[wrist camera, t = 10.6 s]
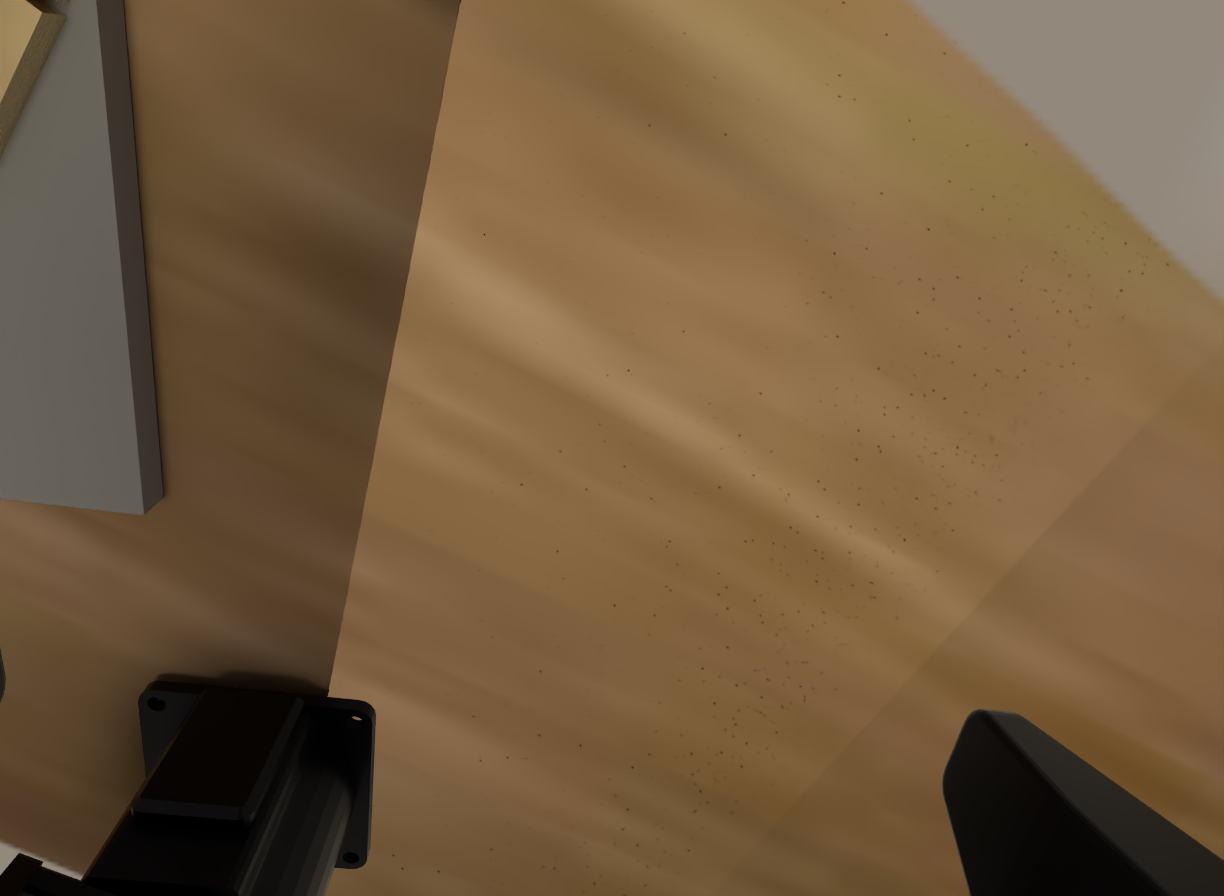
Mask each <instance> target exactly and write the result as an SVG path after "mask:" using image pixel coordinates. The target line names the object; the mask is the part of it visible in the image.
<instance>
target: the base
mask: <svg viewBox="0 0 1224 896" xmlns="http://www.w3.org/2000/svg"><path fill="white" fill-rule="evenodd" d="M47 1H48V2H49V3H51V4H52V5H53V6H55V7H56V8H57V9H59V10H60V11H62V12H63V13H64V14H66V15H67V16H68V17H67V19H66V21H65V23H64V25H63V27H62V29H61V31H60V34H59V36H58V38H57V40H56V42H55V44H54V46H53V48H52V50H51V52H50V55H49V57H48V59H47V61H46V63H45V65H44V67H43V69H42V71H41V74H40V76H39V78H38V80H37V82H36V84H35V86H34V88H33V90H32V92H31V95H30V97H29V99H28V101H27V103H26V105H25V107H24V109H23V111H22V113H21V116H20V118H19V120H18V122H17V124H16V126H15V128H14V130H13V132H12V134H11V137H10V139H9V141H8V143H7V145H6V147H5V149H4V151H3V153H2V156H1V158H0V499H6V500H15V501H23V502H32V503H41V504H50V505H58V506H67V507H76V508H84V509H93V510H102V511H110V512H119V513H128V514H136V515H145V514H146V513H147V512H148V511H149V510H150V509H151V508H152V507H153V506H154V505H155V504H156V503H158V502H159V501H160V500H161V499H162V498H163V485H162V473H161V461H160V448H159V436H158V424H157V411H156V399H155V387H154V374H153V362H152V350H151V338H150V325H149V313H148V301H147V288H146V276H145V264H144V251H143V239H142V227H141V215H140V202H139V190H138V178H137V165H136V153H135V141H134V128H133V116H132V104H131V92H130V79H129V67H128V55H127V42H126V30H125V18H124V5H123V0H69V1H70V3H66V2H60V1H54V0H47Z"/></svg>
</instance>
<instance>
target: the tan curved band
mask: <svg viewBox="0 0 1224 896" xmlns="http://www.w3.org/2000/svg"><path fill="white" fill-rule="evenodd" d="M54 1H60V2H66V3H70V1H69V0H54ZM67 17H68V16H67V15H66V14H64V13H63V12H62V11H60V10H59V9H57V8H56V7H55V6H53V5H52V4H51V3H49V2H48V1H47V0H0V158H1V156H2V153H3V151H4V149H5V147H6V145H7V143H8V141H9V139H10V137H11V134H12V132H13V130H14V128H15V126H16V124H17V122H18V120H19V118H20V116H21V113H22V111H23V109H24V107H25V105H26V103H27V101H28V99H29V97H30V95H31V92H32V90H33V88H34V86H35V84H36V82H37V80H38V78H39V76H40V74H41V71H42V69H43V67H44V65H45V63H46V61H47V59H48V57H49V55H50V52H51V50H52V48H53V46H54V44H55V42H56V40H57V38H58V36H59V34H60V31H61V29H62V27H63V25H64V23H65V21H66V19H67Z"/></svg>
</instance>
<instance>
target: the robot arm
mask: <svg viewBox="0 0 1224 896" xmlns="http://www.w3.org/2000/svg"><path fill="white" fill-rule="evenodd" d="M5 682H6V678H5V670H4V665H3V660H2V655H1V649H0V702H1V700H2V697H3V694H4V690H5ZM156 697H158V698H161V699H162V700H163V701H160V700H158V699H157V698H156ZM164 701H165V702H164ZM138 705H139V715H140V724H141V733H142V742H143V752H144V761H145V770H146V779H145V781H144V783H143V784H142V786H141V787H140V789H139V790H138V792H137V793H136V795H135V797H134V798H133V800H132V801H131V803H130V804H129V806H128V807H127V809H126V811H125V812H124V814H123V815H122V817H121V818H120V820H119V822H118V823H117V825H116V826H115V828H114V829H113V831H112V832H111V834H110V836H109V837H108V839H107V840H106V842H105V843H104V845H103V846H102V848H101V850H100V851H99V853H98V854H97V856H96V857H95V859H94V860H93V862H92V864H91V865H90V867H89V868H88V870H87V871H86V873H85V874H84V876H83V878H82V879H81V881H80V880H78V879H75V878H72V877H69V876H67V875H64V874H61V873H58V872H55V871H53V870H50V869H47V868H45V867H42V866H41V865H42V863H43V861H40V860H37V859H34V858H32V857H29V856H26V855H24V854H21V853H19V854H18V855H17V856H16V858H15V859H14V860H13V861H12V862H11V863H10V864H9V866H8V867H7V868H6V869H5V871H4V872H3V873H2V874H1V875H0V896H325V894H326V891H327V888H328V885H329V882H330V879H331V876H332V873H333V870H334V868H345V869H357V868H360V867H362V866H363V865H364V864H365V863H366V861H367V858H368V854H369V851H370V841H371V818H372V794H373V771H374V748H375V725H376V713H375V710H374V708H373V707H372V706H371V705H370V704H368V703H367V702H364V701H360V700H353V699H342V698H332V697H322V696H312V695H302V694H292V693H282V692H272V691H262V690H251V689H241V688H231V687H221V686H211V685H201V684H191V683H181V682H171V681H154V682H152V683H150V684H149V685H148V686H147V687H146V689H145V690H144V691H143V693H142V694H141V695H140V697H139V701H138ZM354 716H356V717H359V718H361V719H362V720H355V719H353V718H352V717H354ZM942 787H943V796H944V800H945V804H946V808H947V812H948V815H949V819H950V823H951V827H952V830H953V834H954V838H955V842H956V845H957V849H958V853H959V856H960V860H961V864H962V868H963V871H964V875H965V879H966V883H967V886H968V890H969V894H970V896H1224V860H1223V859H1221V858H1220V857H1218V856H1217V855H1216V854H1214V853H1213V852H1211V851H1210V850H1209V849H1207V848H1206V847H1204V846H1203V845H1202V844H1200V843H1199V842H1197V841H1196V840H1195V839H1193V838H1192V837H1190V836H1189V835H1188V834H1186V833H1185V832H1183V831H1182V830H1181V829H1179V828H1178V827H1176V826H1175V825H1174V824H1172V823H1171V822H1169V821H1168V820H1167V819H1165V818H1164V817H1162V816H1161V815H1160V814H1158V813H1157V812H1155V811H1154V810H1153V809H1151V808H1150V807H1148V806H1147V805H1146V804H1144V803H1143V802H1141V801H1140V800H1139V799H1137V798H1136V797H1134V796H1133V795H1132V794H1130V793H1129V792H1127V791H1126V790H1125V789H1123V788H1122V787H1121V786H1119V785H1118V784H1116V783H1115V782H1114V781H1112V780H1111V779H1109V778H1108V777H1107V776H1105V775H1104V774H1102V773H1101V772H1100V771H1098V770H1097V769H1095V768H1094V767H1093V766H1091V765H1090V764H1088V763H1087V762H1086V761H1084V760H1083V759H1081V758H1080V757H1079V756H1077V755H1076V754H1074V753H1073V752H1072V751H1070V750H1069V749H1067V748H1066V747H1065V746H1063V745H1062V744H1060V743H1059V742H1058V741H1056V740H1055V739H1053V738H1052V737H1051V736H1049V735H1048V734H1046V733H1045V732H1044V731H1042V730H1041V729H1039V728H1038V727H1037V726H1035V725H1034V724H1032V723H1031V722H1030V721H1028V720H1027V719H1025V718H1024V717H1022V716H1021V715H1019V714H1016V713H1013V712H1007V711H997V710H988V709H978V710H974V711H973V712H971V713H970V714H969V715H968V716H967V718H966V720H965V722H964V724H963V727H962V729H961V732H960V734H959V736H958V739H957V741H956V743H955V746H954V748H953V751H952V753H951V755H950V758H949V760H948V762H947V765H946V767H945V770H944V774H943V785H942Z"/></svg>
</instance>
